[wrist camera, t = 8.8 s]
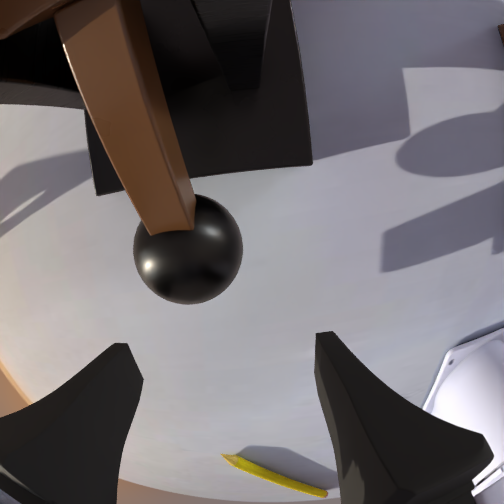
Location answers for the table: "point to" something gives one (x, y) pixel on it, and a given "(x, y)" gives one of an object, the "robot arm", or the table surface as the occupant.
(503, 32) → the button block
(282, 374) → the table surface
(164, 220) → the lever
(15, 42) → the lever stand
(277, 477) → the pencil
